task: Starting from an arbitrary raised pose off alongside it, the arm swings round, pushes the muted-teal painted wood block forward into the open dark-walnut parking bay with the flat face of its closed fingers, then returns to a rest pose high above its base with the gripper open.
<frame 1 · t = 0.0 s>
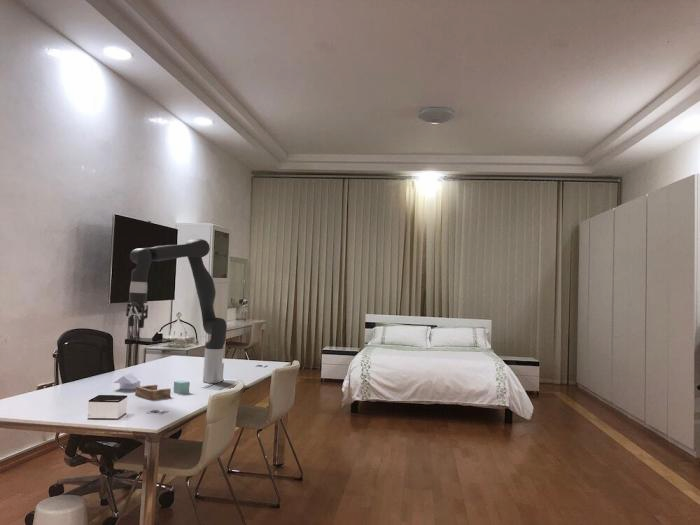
hand: (135, 327, 256), 29 cm above the table, fingers open, 8 cm apart
teal block: (181, 392, 259), on the table
white toy house: (128, 388, 262), on the table
walnut bay: (154, 395, 248), on the table
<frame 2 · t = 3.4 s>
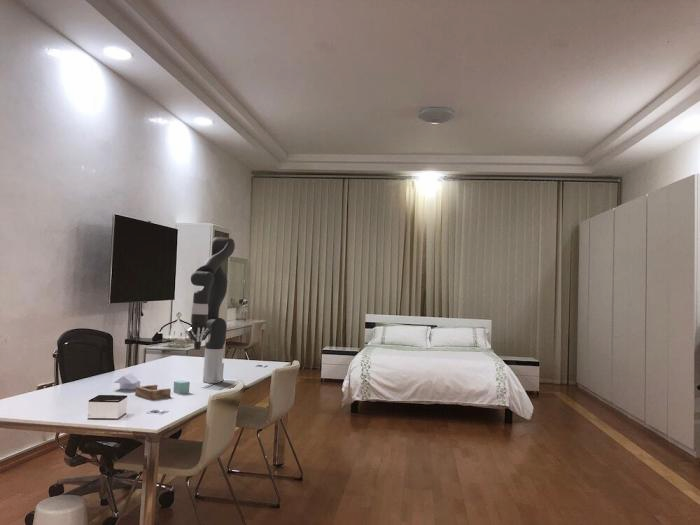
hand: (197, 349, 266), 19 cm above the table, fingers closed
nothing on the table moved.
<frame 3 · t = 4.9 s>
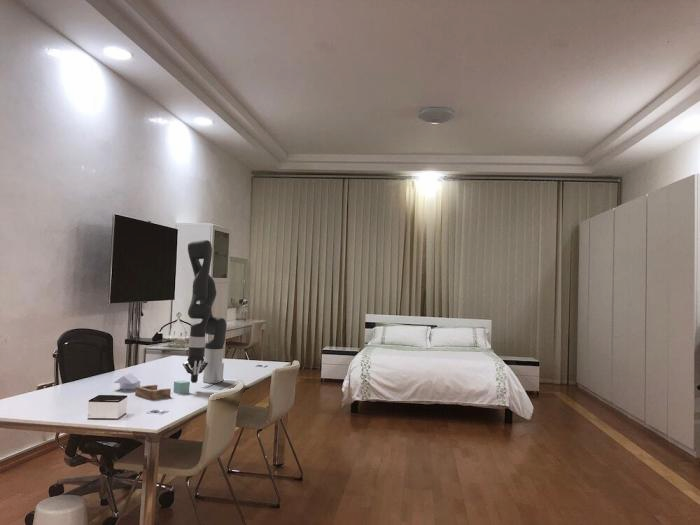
hand: (193, 382, 265), 4 cm above the table, fingers closed
nothing on the table moved.
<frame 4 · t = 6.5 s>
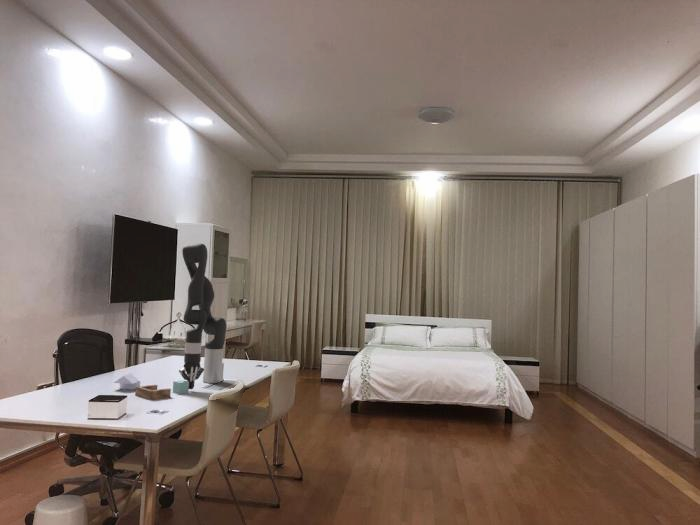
hand: (190, 388, 263), 1 cm above the table, fingers closed
teal block: (180, 392, 259), on the table, touching gripper
everything else where it was.
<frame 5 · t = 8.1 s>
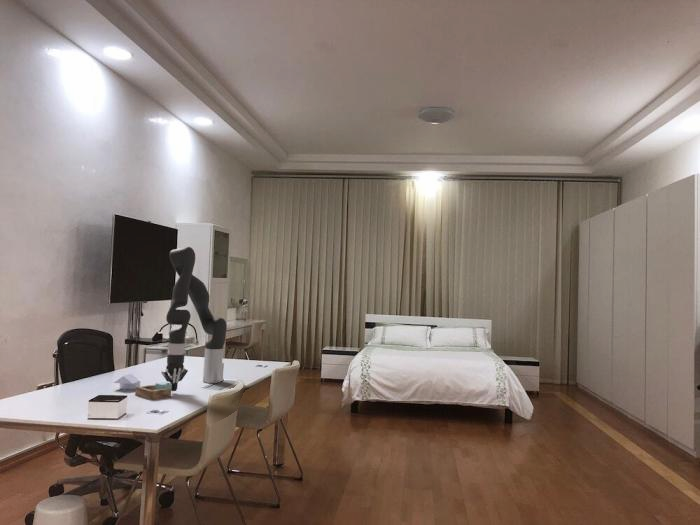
hand: (173, 390, 256), 1 cm above the table, fingers closed
teal block: (163, 394, 252), on the table, touching gripper
everything else where it was.
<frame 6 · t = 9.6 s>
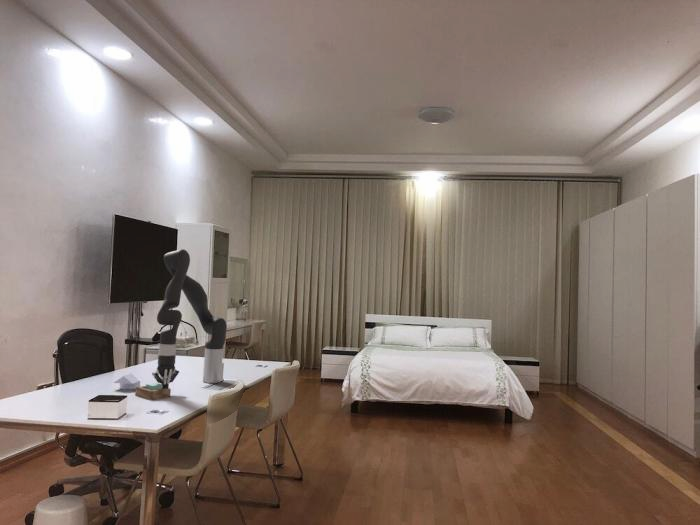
hand: (164, 392, 252), 1 cm above the table, fingers closed
teal block: (153, 395, 248), on the table, touching gripper
everything else where it was.
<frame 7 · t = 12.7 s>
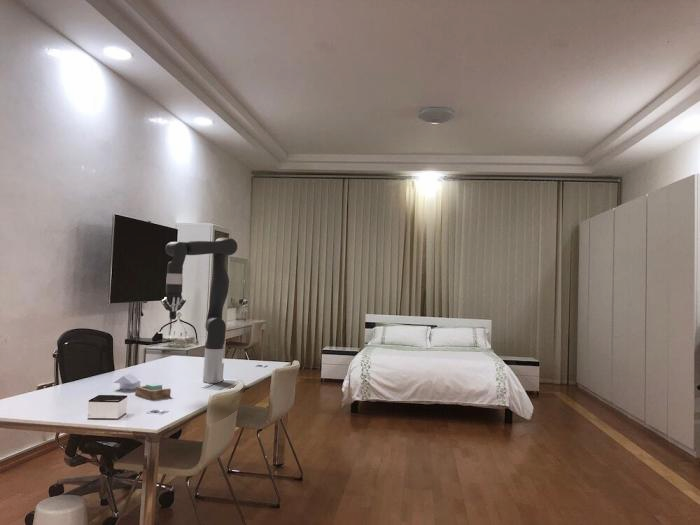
hand: (172, 319, 267), 33 cm above the table, fingers closed
teal block: (153, 396, 248), on the table
everything else where it was.
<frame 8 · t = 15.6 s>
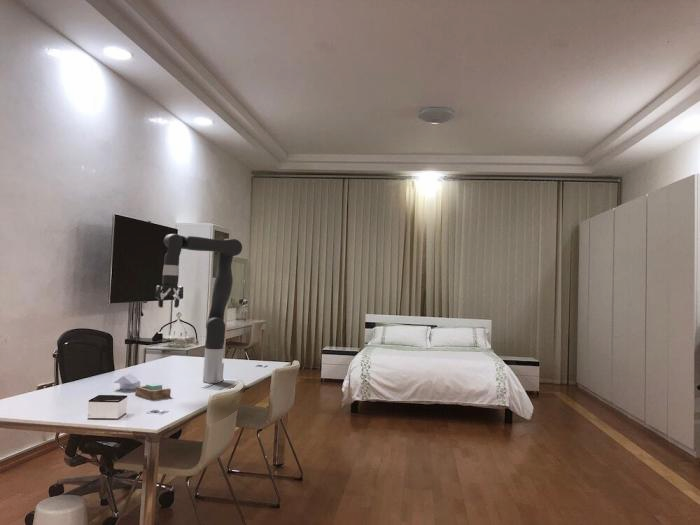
hand: (168, 307, 273), 38 cm above the table, fingers open, 8 cm apart
nothing on the table moved.
at the end: teal block inside the target area (0.3 cm from its centre), on the table; teal block moved 14.1 cm from its start; teal block touching table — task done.
